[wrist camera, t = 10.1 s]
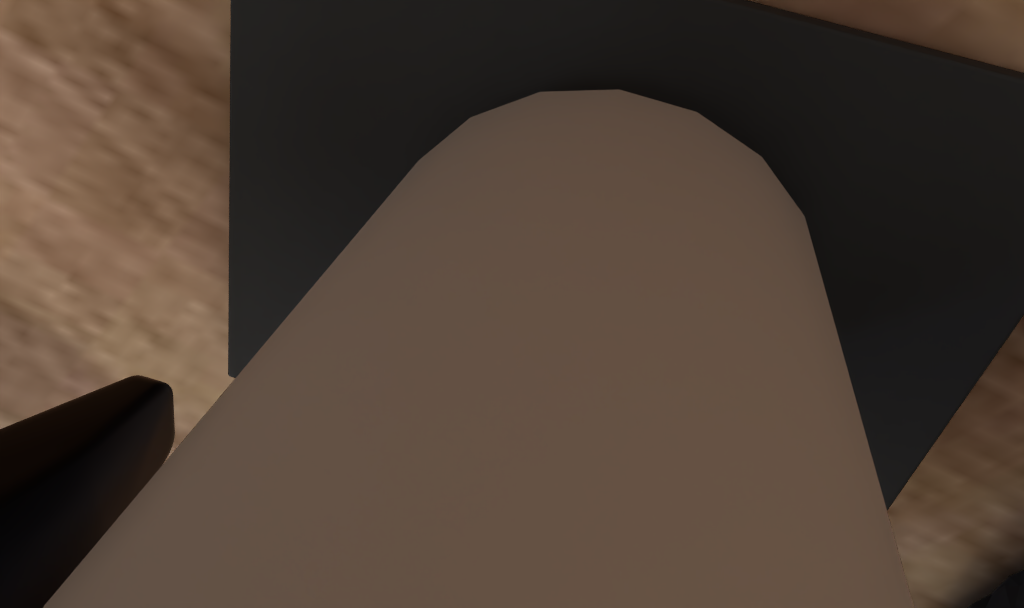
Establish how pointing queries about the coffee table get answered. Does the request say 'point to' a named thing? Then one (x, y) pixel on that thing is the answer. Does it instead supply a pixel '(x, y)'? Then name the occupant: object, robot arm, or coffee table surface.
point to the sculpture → (1005, 594)
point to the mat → (680, 82)
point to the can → (535, 398)
